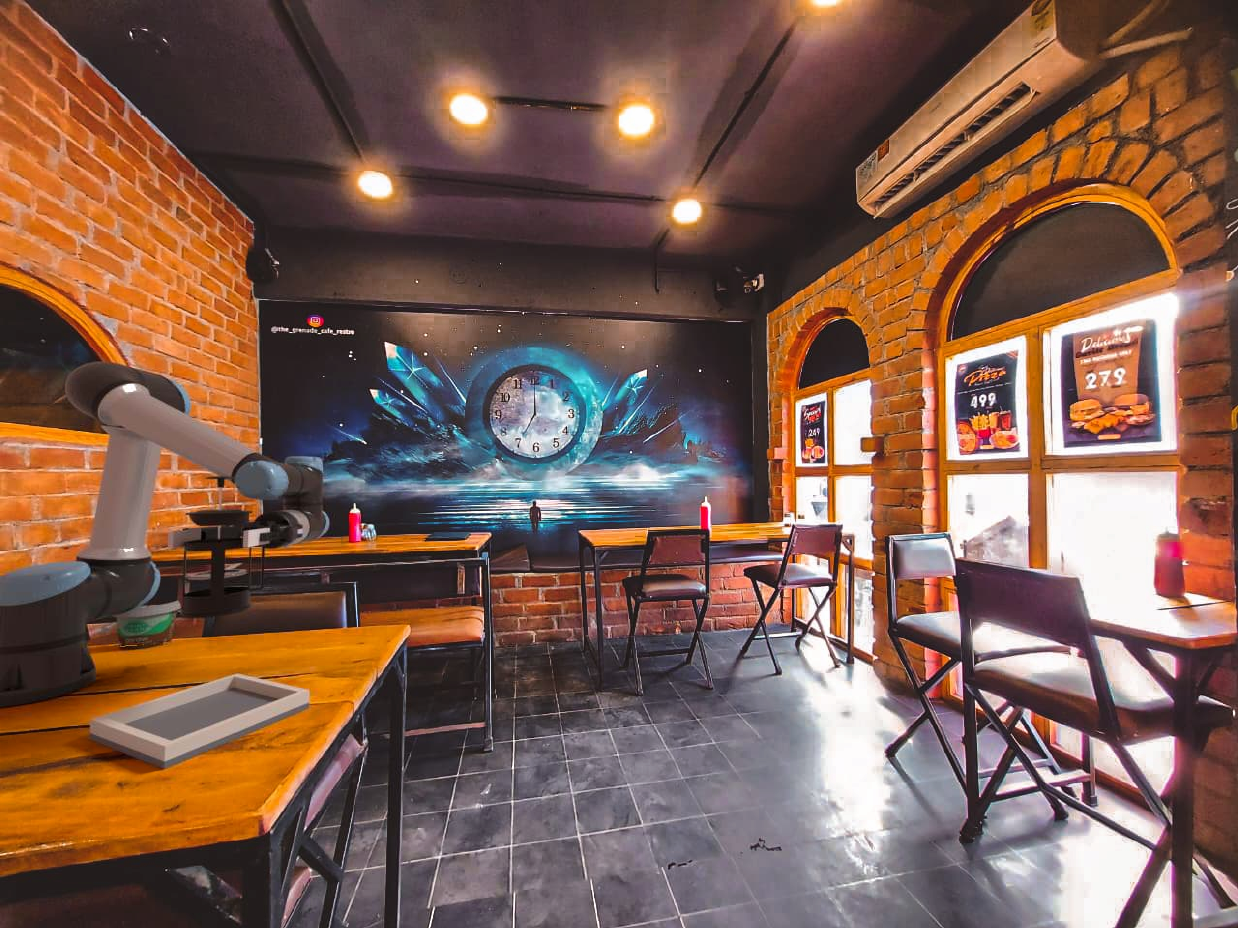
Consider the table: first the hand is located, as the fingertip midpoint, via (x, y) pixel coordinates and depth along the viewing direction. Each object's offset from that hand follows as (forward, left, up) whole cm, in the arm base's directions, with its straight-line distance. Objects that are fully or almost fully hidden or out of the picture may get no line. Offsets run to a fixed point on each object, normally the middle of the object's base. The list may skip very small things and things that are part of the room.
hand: (208, 539), depth 80 cm
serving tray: (-1, +1, -30) cm, 30 cm away
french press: (-2, +3, -13) cm, 13 cm away
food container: (-60, +18, -30) cm, 69 cm away
